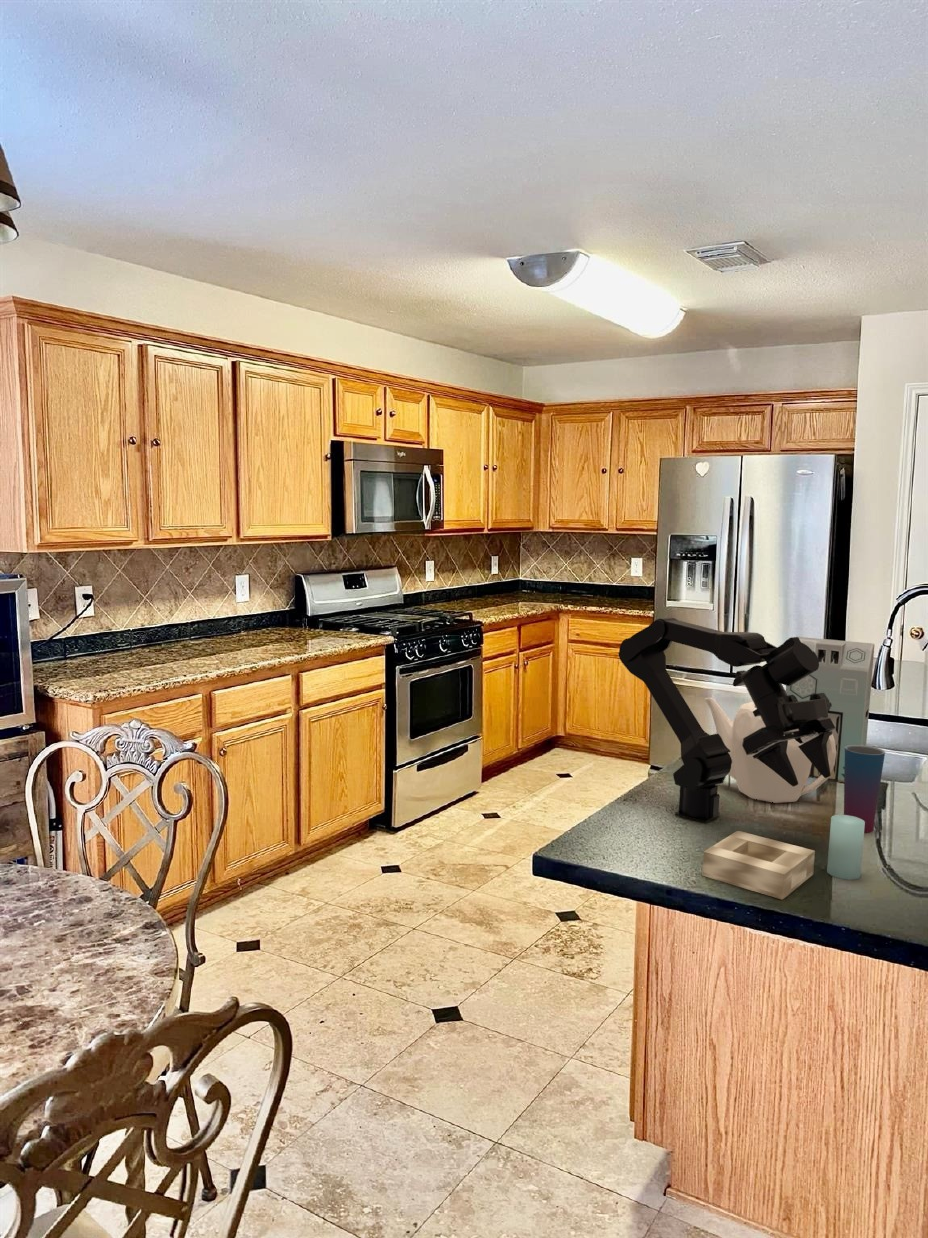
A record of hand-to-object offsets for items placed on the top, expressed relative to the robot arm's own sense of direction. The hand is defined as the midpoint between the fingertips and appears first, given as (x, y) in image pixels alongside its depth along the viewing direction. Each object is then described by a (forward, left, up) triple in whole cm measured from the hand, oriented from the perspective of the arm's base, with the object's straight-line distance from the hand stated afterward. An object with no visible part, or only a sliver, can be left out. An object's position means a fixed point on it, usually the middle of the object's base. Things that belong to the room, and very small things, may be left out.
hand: (812, 781), depth 154 cm
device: (-15, +51, -13) cm, 54 cm away
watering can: (-19, +28, -13) cm, 36 cm away
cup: (+2, +21, -13) cm, 25 cm away
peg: (+7, -3, -13) cm, 15 cm away
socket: (-3, -14, -13) cm, 19 cm away
